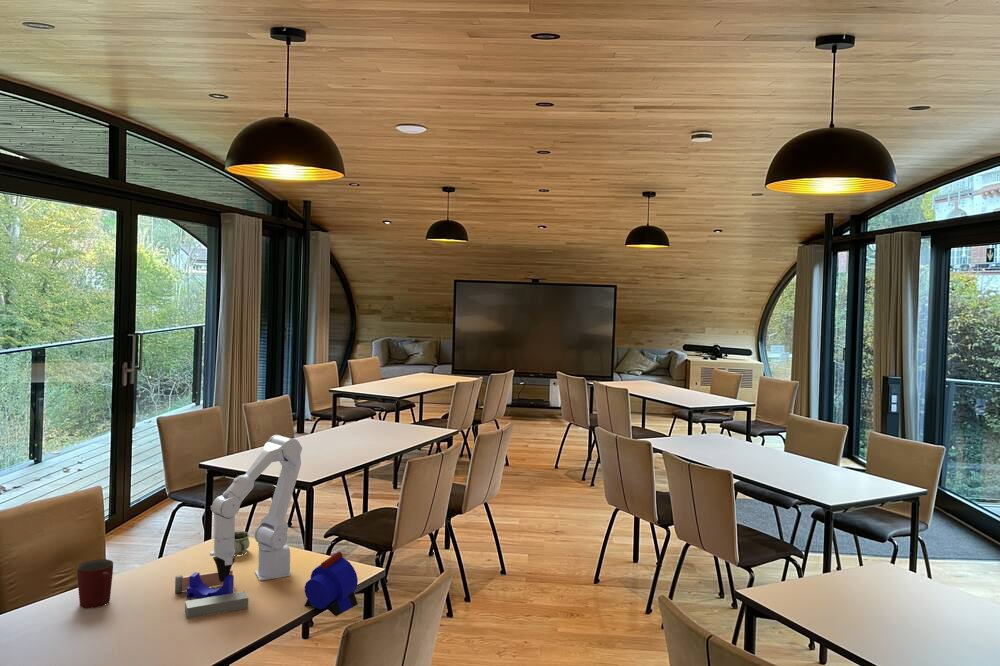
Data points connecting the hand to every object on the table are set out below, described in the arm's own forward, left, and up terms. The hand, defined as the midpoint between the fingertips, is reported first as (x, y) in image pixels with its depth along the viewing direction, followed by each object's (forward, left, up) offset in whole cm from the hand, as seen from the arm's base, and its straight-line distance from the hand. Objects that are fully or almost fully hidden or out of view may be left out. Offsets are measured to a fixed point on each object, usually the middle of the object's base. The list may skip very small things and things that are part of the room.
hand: (223, 580), depth 217 cm
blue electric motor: (-25, +24, -3) cm, 35 cm away
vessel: (-9, -30, -3) cm, 31 cm away
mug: (+33, -4, -3) cm, 33 cm away
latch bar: (+5, -3, -2) cm, 6 cm away
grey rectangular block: (+4, +14, -3) cm, 14 cm away
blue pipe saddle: (+4, +3, -3) cm, 6 cm away
